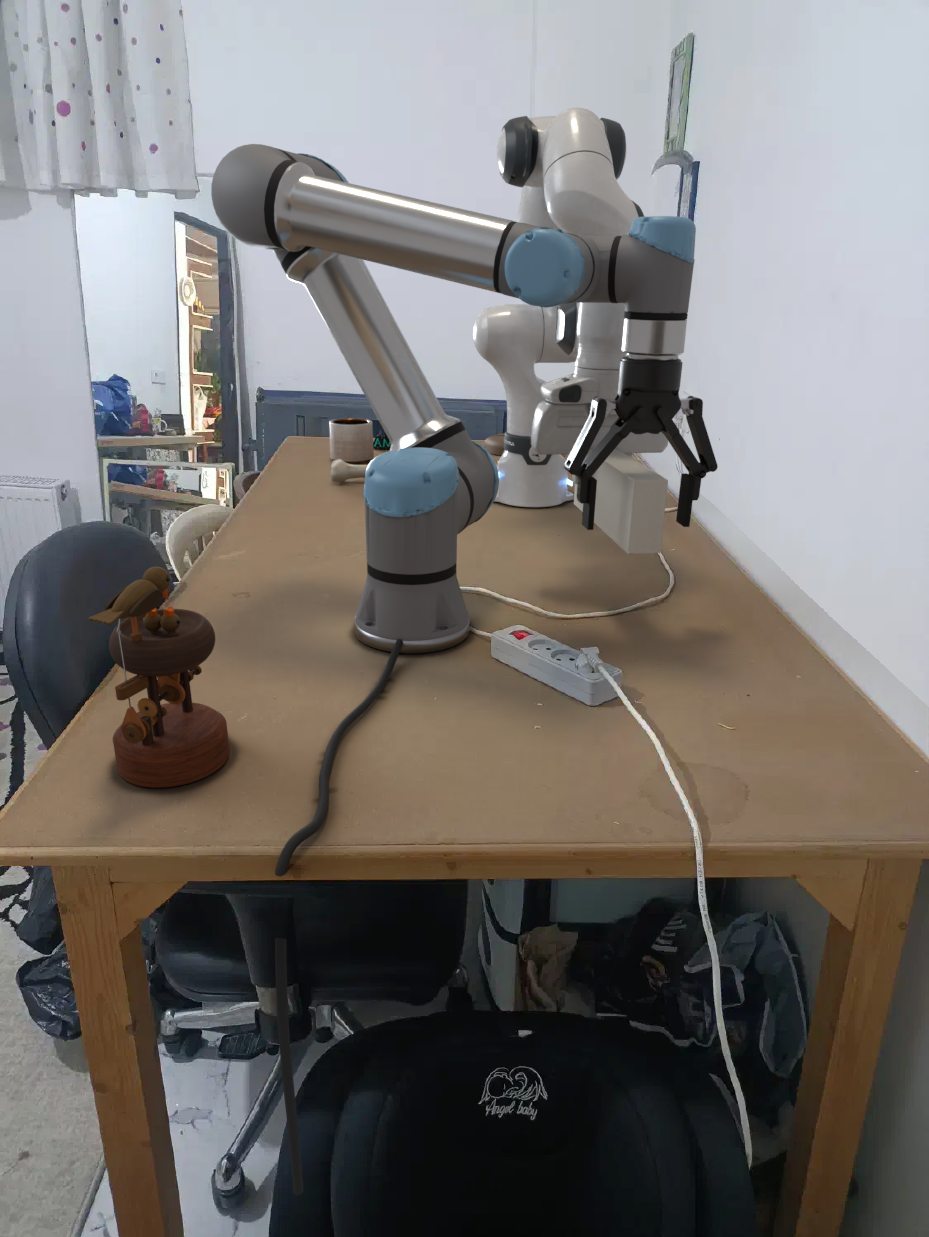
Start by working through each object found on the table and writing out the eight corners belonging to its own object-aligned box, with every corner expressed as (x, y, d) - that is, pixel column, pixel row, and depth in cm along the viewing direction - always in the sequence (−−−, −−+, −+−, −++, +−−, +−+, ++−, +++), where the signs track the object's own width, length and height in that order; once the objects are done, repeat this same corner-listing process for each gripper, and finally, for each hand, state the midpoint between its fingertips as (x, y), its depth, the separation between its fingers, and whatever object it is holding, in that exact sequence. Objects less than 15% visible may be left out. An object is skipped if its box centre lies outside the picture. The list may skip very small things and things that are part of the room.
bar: (660, 553, 109) (668, 480, 105) (627, 554, 108) (634, 480, 105) (600, 503, 132) (605, 442, 128) (573, 504, 131) (577, 442, 128)
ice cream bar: (489, 466, 209) (490, 449, 208) (482, 444, 235) (482, 429, 234) (574, 466, 210) (575, 449, 209) (557, 445, 236) (558, 430, 234)
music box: (204, 802, 76) (158, 593, 68) (89, 801, 77) (32, 596, 70) (260, 719, 90) (227, 538, 82) (162, 719, 91) (122, 542, 84)
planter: (327, 456, 217) (325, 418, 214) (369, 454, 220) (368, 417, 217) (334, 465, 208) (332, 425, 204) (377, 463, 211) (376, 424, 207)
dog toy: (417, 477, 197) (417, 456, 195) (420, 483, 191) (420, 461, 189) (330, 479, 194) (329, 457, 192) (330, 485, 188) (329, 463, 186)
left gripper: (732, 353, 109) (711, 515, 117) (546, 353, 105) (537, 520, 113) (760, 359, 102) (735, 530, 110) (562, 359, 98) (552, 536, 106)
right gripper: (664, 384, 126) (654, 476, 131) (530, 385, 123) (526, 479, 128) (681, 390, 120) (670, 486, 125) (541, 391, 117) (536, 489, 122)
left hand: (635, 525), depth 111 cm, fingers open, 12 cm apart
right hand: (596, 482), depth 127 cm, fingers closed on bar, 4 cm apart
